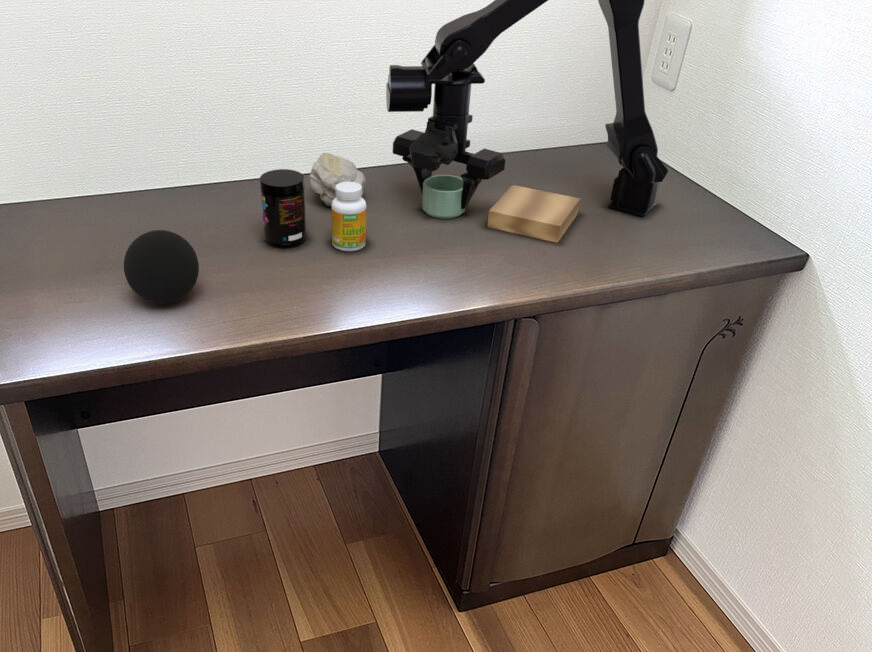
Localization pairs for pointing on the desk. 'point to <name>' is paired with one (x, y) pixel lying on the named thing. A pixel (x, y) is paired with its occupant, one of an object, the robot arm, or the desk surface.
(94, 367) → the desk surface
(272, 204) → the supplement container
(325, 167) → the fossil replica
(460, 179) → the bowl
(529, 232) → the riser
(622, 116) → the robot arm
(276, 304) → the desk surface
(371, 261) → the desk surface
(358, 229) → the supplement bottle
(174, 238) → the decorative ball
